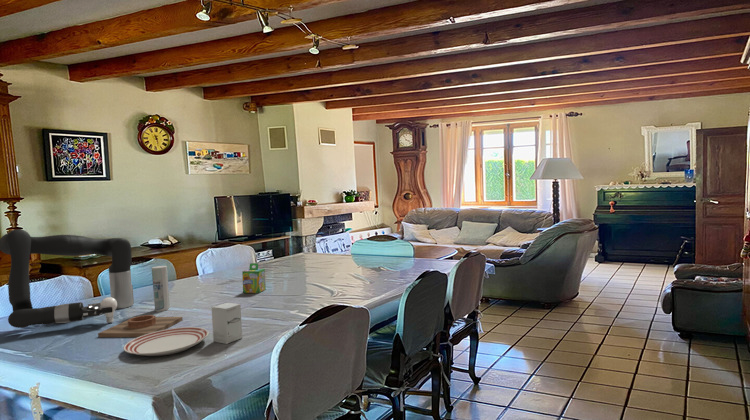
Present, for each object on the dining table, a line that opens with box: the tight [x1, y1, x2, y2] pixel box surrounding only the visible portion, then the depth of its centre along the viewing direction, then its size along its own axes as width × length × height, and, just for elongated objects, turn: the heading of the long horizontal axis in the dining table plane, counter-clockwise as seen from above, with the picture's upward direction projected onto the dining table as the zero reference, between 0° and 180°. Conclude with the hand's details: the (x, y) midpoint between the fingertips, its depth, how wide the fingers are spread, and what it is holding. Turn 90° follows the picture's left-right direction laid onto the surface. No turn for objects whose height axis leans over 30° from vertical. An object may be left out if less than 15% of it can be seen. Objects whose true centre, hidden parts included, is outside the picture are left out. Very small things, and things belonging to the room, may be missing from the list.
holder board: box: [97, 314, 183, 338], centre depth 194 cm, size 22×22×4 cm
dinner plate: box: [123, 326, 210, 357], centre depth 169 cm, size 27×27×3 cm
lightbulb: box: [99, 296, 117, 324], centre depth 205 cm, size 6×6×11 cm
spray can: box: [151, 265, 171, 312], centre depth 224 cm, size 6×6×20 cm
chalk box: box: [241, 262, 267, 294], centre depth 254 cm, size 9×9×15 cm
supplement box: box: [211, 302, 243, 345], centre depth 173 cm, size 7×7×13 cm
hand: (113, 307), depth 205 cm, fingers open, 8 cm apart
